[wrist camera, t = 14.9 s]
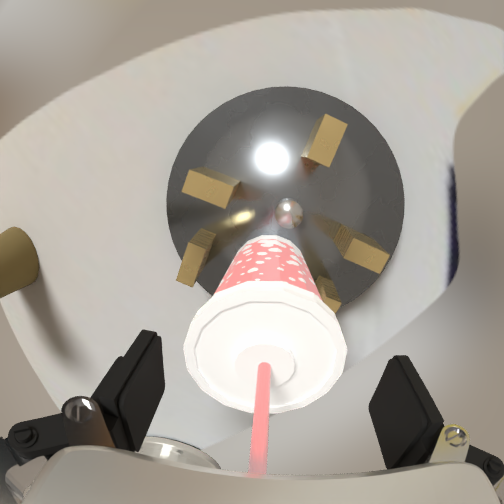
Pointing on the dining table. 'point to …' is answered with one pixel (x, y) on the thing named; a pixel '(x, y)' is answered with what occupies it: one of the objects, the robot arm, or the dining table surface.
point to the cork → (16, 261)
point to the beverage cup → (265, 338)
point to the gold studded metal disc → (287, 190)
